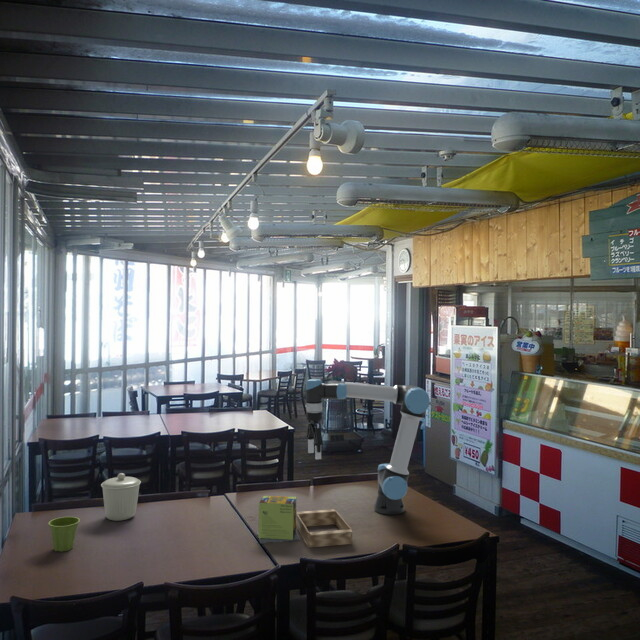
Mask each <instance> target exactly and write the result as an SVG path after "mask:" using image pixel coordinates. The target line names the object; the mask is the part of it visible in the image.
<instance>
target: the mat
mask: <svg viewBox="0 0 640 640" xmlns="http://www.w3.org/2000/svg"><path fill="white" fill-rule="evenodd" d="M258 533H259V531H256V535H258ZM258 541H259V543H260V544H266V543H265V542H273V543H283V542H282V541H286V542H293V541H294V542H296V541H297V542H298V541H300V537H299V535H298V533H297V532H296V533H295V536H294V538H293V540H287V539H265V538H259V539H258ZM280 541H281V542H280Z"/></svg>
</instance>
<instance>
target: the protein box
mask: <svg viewBox="0 0 640 640" xmlns="http://www.w3.org/2000/svg"><path fill="white" fill-rule="evenodd" d="M296 514H297V496H286V495H285V496H279V495H277V496H276V495H275V496H274V495H263V496H262V497H261V500H259V503H258V532H259V533H258V536H257V538H265V539H287V540H293V538H294V536H295V533H297V527H296Z"/></svg>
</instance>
